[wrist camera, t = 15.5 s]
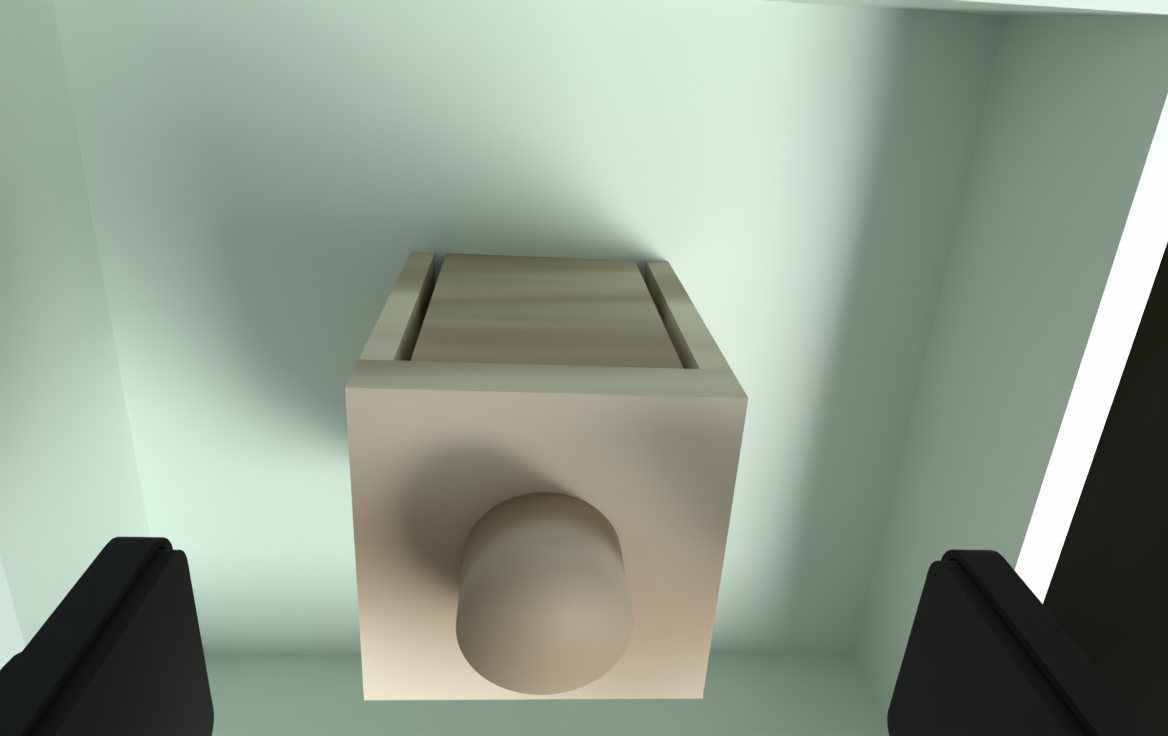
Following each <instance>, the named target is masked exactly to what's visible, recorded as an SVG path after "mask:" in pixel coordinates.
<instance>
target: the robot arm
mask: <svg viewBox="0 0 1168 736" xmlns="http://www.w3.org/2000/svg"><path fill="white" fill-rule="evenodd" d="M213 726H214V709H213V703H212V697H211V692H210V686H209V680H208V674H207V669H206V663H205V657H204V652H203V646H202V640H201V634H200V629H199V623H198V617H197V611H196V606H195V600H194V594H193V588H192V583H191V577H190V571H189V565H188V560H187V556H186V554H185V552H184V551H182V550H173V547H172V544H171V542H170V541H169V540H168V539H167V538H164V537H115V538H112V539H111V540H110V541H109V542H108V543H107V544H106V545H105V547H104V548H103V549H102V550H101V552H100V553H99V554H98V556H97V557H96V558H95V559H94V561H93V562H92V563H91V564H90V566H89V567H88V568H87V570H86V571H85V572H84V573H83V575H82V576H81V577H80V578H79V580H78V581H77V582H76V584H75V585H74V586H73V587H72V589H71V590H70V591H69V592H68V594H67V595H66V596H65V597H64V599H63V600H62V601H61V603H60V604H59V605H58V606H57V608H56V609H55V610H54V611H53V613H52V614H51V615H50V617H49V618H48V619H47V620H46V622H45V623H44V624H43V625H42V627H41V628H40V629H39V631H38V632H37V633H36V634H35V636H34V637H33V638H32V639H31V641H30V642H29V643H28V644H27V646H26V647H25V648H24V650H23V651H22V652H20V653H18V654H16V655H14V656H13V657H12V658H11V659H10V660H9V661H8V662H7V663H6V664H5V665H4V666H3V667H2V669H1V670H0V736H212V732H213ZM887 726H888V732H889V736H1152V734H1151V733H1150V732H1149V731H1148V730H1147V728H1146V727H1145V726H1144V725H1143V724H1142V722H1141V721H1140V720H1139V719H1138V718H1137V716H1136V715H1135V714H1134V713H1133V712H1132V710H1131V709H1130V708H1129V707H1128V706H1127V704H1126V703H1125V702H1124V701H1123V700H1122V698H1121V697H1120V696H1119V695H1118V694H1117V692H1116V691H1115V690H1114V689H1113V688H1112V687H1111V685H1110V684H1109V683H1108V682H1107V681H1106V679H1105V678H1104V677H1103V676H1102V675H1101V673H1100V672H1099V671H1098V670H1097V669H1096V667H1095V666H1094V665H1093V664H1092V663H1091V661H1090V660H1089V659H1088V658H1087V657H1086V655H1085V654H1084V653H1083V652H1082V651H1081V649H1080V648H1079V647H1078V646H1077V645H1076V643H1075V642H1074V641H1073V640H1072V639H1071V637H1070V636H1069V635H1068V634H1067V633H1066V631H1065V630H1064V629H1063V628H1062V627H1061V625H1060V624H1059V623H1058V622H1057V621H1056V619H1055V618H1054V617H1053V616H1052V615H1051V613H1050V612H1049V611H1048V610H1047V609H1046V607H1045V606H1044V605H1043V604H1042V603H1041V601H1040V600H1039V599H1038V598H1037V597H1036V595H1035V594H1034V593H1033V592H1032V591H1031V589H1030V588H1029V587H1028V586H1027V585H1026V583H1025V582H1024V581H1023V580H1022V579H1021V577H1020V576H1019V575H1018V574H1017V573H1016V571H1015V570H1014V569H1013V568H1012V567H1011V565H1010V564H1009V563H1008V562H1007V561H1006V560H1005V558H1004V557H1003V556H1002V555H1001V554H999V553H998V552H997V551H993V550H963V549H952V550H948V551H946V552H945V554H944V555H943V556H942V558H941V561H938V560H937V561H934V562H933V563H932V564H931V565H930V567H929V570H928V573H927V576H926V580H925V583H924V587H923V590H922V594H921V597H920V601H919V604H918V608H917V611H916V615H915V618H914V622H913V625H912V629H911V632H910V636H909V639H908V643H907V646H906V650H905V653H904V657H903V660H902V664H901V667H900V671H899V674H898V678H897V681H896V685H895V688H894V692H893V695H892V699H891V702H890V706H889V709H888V715H887Z"/></svg>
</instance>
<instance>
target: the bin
mask: <svg viewBox="0 0 1168 736" xmlns="http://www.w3.org/2000/svg"><path fill="white" fill-rule="evenodd" d="M1167 241H1168V0H0V670H1V669H2V667H3V666H4V665H5V664H6V663H7V662H8V661H9V660H10V659H11V658H12V657H13V656H14V655H16V654H18V653H20V652H22V651H23V650H24V648H25V647H26V646H27V644H28V643H29V642H30V641H31V639H32V638H33V637H34V636H35V634H36V633H37V632H38V631H39V629H40V628H41V627H42V625H43V624H44V623H45V622H46V620H47V619H48V618H49V617H50V615H51V614H52V613H53V611H54V610H55V609H56V608H57V606H58V605H59V604H60V603H61V601H62V600H63V599H64V597H65V596H66V595H67V594H68V592H69V591H70V590H71V589H72V587H73V586H74V585H75V584H76V582H77V581H78V580H79V578H80V577H81V576H82V575H83V573H84V572H85V571H86V570H87V568H88V567H89V566H90V564H91V563H92V562H93V561H94V559H95V558H96V557H97V556H98V554H99V553H100V552H101V550H102V549H103V548H104V547H105V545H106V544H107V543H108V542H109V541H110V540H111V539H112V538H115V537H164V538H167V539H168V540H169V541H170V542H171V544H172V547H173V550H182V551H184V552H185V554H186V556H187V560H188V565H189V571H190V577H191V583H192V588H193V594H194V600H195V606H196V611H197V617H198V623H199V629H200V634H201V640H202V646H203V652H204V657H205V663H206V669H207V674H208V680H209V686H210V692H211V697H212V703H213V709H214V726H213V732H212V736H889V732H888V726H887V715H888V709H889V706H890V702H891V699H892V695H893V692H894V688H895V685H896V681H897V678H898V674H899V671H900V667H901V664H902V660H903V657H904V653H905V650H906V646H907V643H908V639H909V636H910V632H911V629H912V625H913V622H914V618H915V615H916V611H917V608H918V604H919V601H920V597H921V594H922V590H923V587H924V583H925V580H926V576H927V573H928V570H929V567H930V565H931V564H932V563H933V562H934V561H937V560H938V561H941V558H942V556H943V555H944V554H945V552H946V551H948V550H952V549H963V550H993V551H997V552H998V553H999V554H1001V555H1002V556H1003V557H1004V558H1005V560H1006V561H1007V562H1008V563H1009V564H1010V565H1011V567H1012V568H1013V569H1014V570H1015V571H1016V573H1017V574H1018V575H1019V576H1020V577H1021V579H1022V580H1023V581H1024V582H1025V583H1026V585H1027V586H1028V587H1029V588H1030V589H1031V591H1032V592H1033V593H1034V594H1035V595H1036V597H1037V598H1038V599H1039V600H1040V601H1041V603H1042V604H1043V602H1044V599H1045V596H1046V593H1047V590H1048V587H1049V584H1050V581H1051V578H1052V575H1053V572H1054V570H1055V567H1056V564H1057V561H1058V558H1059V555H1060V552H1061V549H1062V546H1063V543H1064V541H1065V538H1066V535H1067V532H1068V529H1069V526H1070V523H1071V520H1072V517H1073V514H1074V511H1075V509H1076V506H1077V503H1078V500H1079V497H1080V494H1081V491H1082V488H1083V485H1084V482H1085V480H1086V477H1087V474H1088V471H1089V468H1090V465H1091V462H1092V459H1093V456H1094V453H1095V451H1096V448H1097V445H1098V442H1099V439H1100V436H1101V433H1102V430H1103V427H1104V424H1105V421H1106V419H1107V416H1108V413H1109V410H1110V407H1111V404H1112V401H1113V398H1114V395H1115V392H1116V390H1117V387H1118V384H1119V381H1120V378H1121V375H1122V372H1123V369H1124V366H1125V363H1126V360H1127V358H1128V355H1129V352H1130V349H1131V346H1132V343H1133V340H1134V337H1135V334H1136V331H1137V329H1138V326H1139V323H1140V320H1141V317H1142V314H1143V311H1144V308H1145V305H1146V302H1147V299H1148V297H1149V294H1150V291H1151V288H1152V285H1153V282H1154V279H1155V276H1156V273H1157V270H1158V268H1159V265H1160V262H1161V259H1162V256H1163V253H1164V250H1165V247H1166V244H1167ZM411 252H433V253H435V286H436V283H437V280H438V277H439V274H440V271H441V268H442V265H443V262H444V259H445V256H446V253H458V254H483V255H508V256H533V257H558V258H583V259H608V260H633V261H635V262H636V264H637V266H638V268H639V270H640V273H641V275H642V277H643V279H644V281H645V270H646V261H658V262H669V263H670V265H671V267H672V268H673V270H674V272H675V273H676V275H677V277H678V279H679V280H680V282H681V284H682V285H683V287H684V289H685V291H686V292H687V294H688V296H689V297H690V299H691V301H692V302H693V304H694V306H695V308H696V309H697V311H698V313H699V314H700V316H701V318H702V320H703V321H704V323H705V325H706V326H707V328H708V330H709V332H710V333H711V335H712V337H713V338H714V340H715V342H716V344H717V345H718V347H719V349H720V350H721V352H722V354H723V356H724V357H725V359H726V361H727V362H728V364H729V366H730V367H731V369H732V371H733V373H734V374H735V376H736V378H737V379H738V381H739V383H740V385H741V386H742V388H743V390H744V391H745V393H746V395H747V397H748V405H747V411H746V418H745V424H744V431H743V437H742V444H741V450H740V457H739V464H738V470H737V477H736V483H735V490H734V496H733V503H732V509H731V516H730V522H729V529H728V535H727V542H726V548H725V555H724V561H723V568H722V574H721V581H720V588H719V594H718V601H717V607H716V614H715V620H714V627H713V633H712V640H711V646H710V653H709V659H708V666H707V672H706V679H705V685H704V692H703V699H525V700H364V692H363V676H362V659H361V643H360V627H359V610H358V594H357V578H356V561H355V545H354V528H353V512H352V496H351V479H350V463H349V447H348V430H347V414H346V398H345V387H346V384H347V382H348V380H349V378H350V376H351V374H352V372H353V370H354V368H355V366H356V364H357V362H358V360H359V358H360V356H361V354H362V352H363V350H364V347H365V345H366V343H367V341H368V339H369V337H370V335H371V333H372V331H373V329H374V327H375V325H376V323H377V321H378V319H379V317H380V315H381V312H382V310H383V308H384V306H385V304H386V302H387V300H388V298H389V296H390V294H391V292H392V290H393V288H394V286H395V284H396V282H397V280H398V277H399V275H400V273H401V271H402V269H403V267H404V265H405V263H406V261H407V259H408V257H409V255H410V253H411Z"/></svg>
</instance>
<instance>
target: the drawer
mask: <svg viewBox="0 0 1168 736" xmlns="http://www.w3.org/2000/svg"><path fill="white" fill-rule="evenodd" d="M345 398H346V414H347V430H348V447H349V463H350V479H351V496H352V512H353V528H354V545H355V561H356V578H357V594H358V610H359V627H360V643H361V659H362V676H363V692H364V700H525V699H703V692H704V685H705V679H706V672H707V666H708V659H709V653H710V646H711V640H712V633H713V627H714V620H715V614H716V607H717V601H718V594H719V588H720V581H721V574H722V568H723V561H724V555H725V548H726V542H727V535H728V529H729V522H730V516H731V509H732V503H733V496H734V490H735V483H736V477H737V470H738V464H739V457H740V450H741V444H742V437H743V431H744V424H745V418H746V411H747V405H748V397H747V395H746V393H745V391H744V390H743V388H742V386H741V385H740V383H739V381H738V379H737V378H736V376H735V374H734V373H733V371H732V369H731V367H730V366H729V364H728V362H727V361H726V359H725V357H724V356H723V354H722V352H721V350H720V349H719V347H718V345H717V344H716V342H715V340H714V338H713V337H712V335H711V333H710V332H709V330H708V328H707V326H706V325H705V323H704V321H703V320H702V318H701V316H700V314H699V313H698V311H697V309H696V308H695V306H694V304H693V302H692V301H691V299H690V297H689V296H688V294H687V292H686V291H685V289H684V287H683V285H682V284H681V282H680V280H679V279H678V277H677V275H676V273H675V272H674V270H673V268H672V267H671V265H670V263H669V262H658V261H646V270H645V281H644V279H643V277H642V275H641V273H640V270H639V268H638V266H637V264H636V262H635V261H633V260H608V259H583V258H558V257H533V256H508V255H483V254H458V253H446V256H445V259H444V262H443V265H442V268H441V271H440V274H439V277H438V280H437V283H436V286H435V253H433V252H411V253H410V255H409V257H408V259H407V261H406V263H405V265H404V267H403V269H402V271H401V273H400V275H399V277H398V280H397V282H396V284H395V286H394V288H393V290H392V292H391V294H390V296H389V298H388V300H387V302H386V304H385V306H384V308H383V310H382V312H381V315H380V317H379V319H378V321H377V323H376V325H375V327H374V329H373V331H372V333H371V335H370V337H369V339H368V341H367V343H366V345H365V347H364V350H363V352H362V354H361V356H360V358H359V360H358V362H357V364H356V366H355V368H354V370H353V372H352V374H351V376H350V378H349V380H348V382H347V384H346V387H345Z"/></svg>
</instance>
